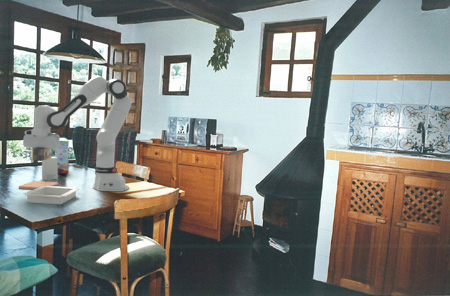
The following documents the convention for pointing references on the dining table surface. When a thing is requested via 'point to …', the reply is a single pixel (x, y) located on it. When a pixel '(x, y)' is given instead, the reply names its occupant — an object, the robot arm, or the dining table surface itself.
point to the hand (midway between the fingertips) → (41, 155)
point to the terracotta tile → (37, 184)
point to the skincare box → (49, 169)
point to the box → (41, 154)
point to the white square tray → (51, 194)
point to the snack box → (62, 156)
